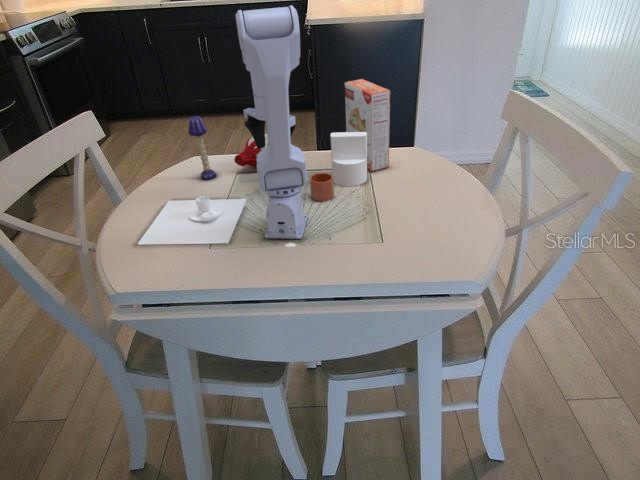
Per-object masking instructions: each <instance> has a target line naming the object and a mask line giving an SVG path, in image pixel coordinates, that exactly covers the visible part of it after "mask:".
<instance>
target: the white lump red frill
mask: <svg viewBox="0 0 640 480" xmlns="http://www.w3.org/2000/svg"><path fill="white" fill-rule="evenodd" d="M266 147H268V137H267V133H265V147H263V148H261V149H258V148H257V146H256V143H255V141H254V138H253V136H250V137H249V138H248V139H247V141H246V142H245V147H244V149H243V150H242V152H240V153H238V154H236V155H235V156H234V162H235V164H236V165H237V166H240V167H245V166H250V167H255V168H256V169H257V158H258V157H257V155H258V154H259V153H260V152H261V151H263V150H264V149H265V148H266Z"/></svg>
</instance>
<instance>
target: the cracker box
mask: <svg viewBox="0 0 640 480" xmlns="http://www.w3.org/2000/svg"><path fill="white" fill-rule="evenodd" d="M344 102H345V103H344V104H345V132H367V171H370V172H371V173H372V172H377V171H380V170H384V169H387V168H389V167H390V128H391V127H390V125H391V124H390V123H391V121H390V120H391V118H390V117H391V90H390V89H388V88H386V87H382V86H380V85H377V84H375V83H373V82H370V81H368V80H366V79H364V78H360V79H355V80H348V81H345V82H344Z"/></svg>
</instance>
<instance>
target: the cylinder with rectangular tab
mask: <svg viewBox="0 0 640 480" xmlns="http://www.w3.org/2000/svg"><path fill="white" fill-rule="evenodd" d="M330 153H331V155H330V156H331V175H332V176H333V183H334V184H335V185H337V186H342V187H356V186H360V185H363V184H364V183H366V182H367V180H368V169H367V132H346V131H341V132H340V131H338V132H337V131H336V132H335V131H334V132H331V133H330Z"/></svg>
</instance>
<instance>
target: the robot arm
mask: <svg viewBox="0 0 640 480" xmlns="http://www.w3.org/2000/svg"><path fill="white" fill-rule="evenodd" d="M235 21H236V28H237V30H236V31H237V36H238V40H239V41H238V42H239V47H240V50H241V56H242V62H243V64H244V65H245V69H246V71H248V72H249V74H250V81H251V87H252V96H253V102H254V107H247V108H245V109H243V117H244V118H245V119H246V120H245V121H244V122H243V123H244V126H245V128H246V129H247V130H248V131H249V133H250V134H251V137H253V138H254V141H255V143H256V146H257V148H258V149H261V148H263V147H265V134H267V137H268V147H266V148H265V149H264V150H263V151H261V152H260V153H259V154H258V155H257V157H258V158H257V168H256V173H257V178H258V185H259V190H260V191H261V192H263V193H266V197H267V204H268V205H267V208H266V211H265V217H266V224H267V229H266V232H265V234H264V238H265V239H285V240H287V239H289V240H291V239H293V240H301V239H303V236H304V233H305V229H306V225H307V222H308V219H309V215H308V214H304V210H303V209H304V208H303V198H302V192H303V187H306V186H307V184H308V170H307V163H306V158H305V154H304V152H303V150H302V149H301V148H300V147H297V146H295V145H293V144H292V140H291V139H292V136H293V133H294V131H295V129H296V126H297V125H296V116H295V115H292V114H290V97H289V84H290V79H291V78H290V77H291V72H292V71H294V70H295V69H296V68H297V67H298V66H299V65H300V58H301V31H300V21H299V14H298V11H297V9H296V8H295V7H294V5H292V4H291V5H288V6H282V7H271V8H259V9H249V10H243V11H242V9H238V10H237V12H236V13H235Z"/></svg>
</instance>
